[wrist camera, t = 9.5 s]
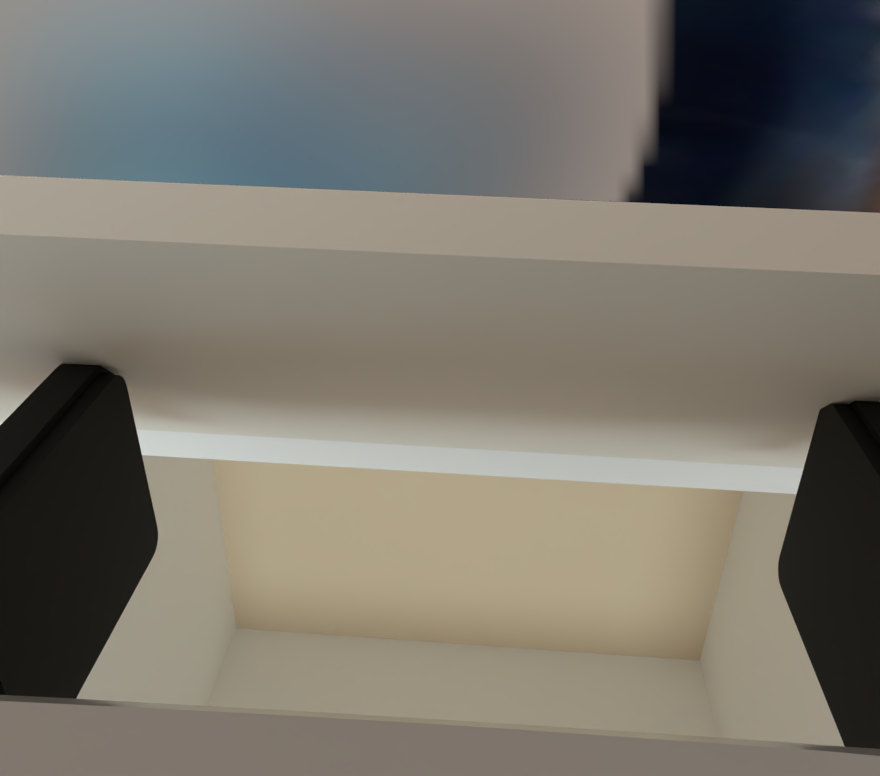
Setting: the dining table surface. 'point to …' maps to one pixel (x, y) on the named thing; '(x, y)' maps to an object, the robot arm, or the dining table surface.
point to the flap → (445, 316)
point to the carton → (466, 589)
